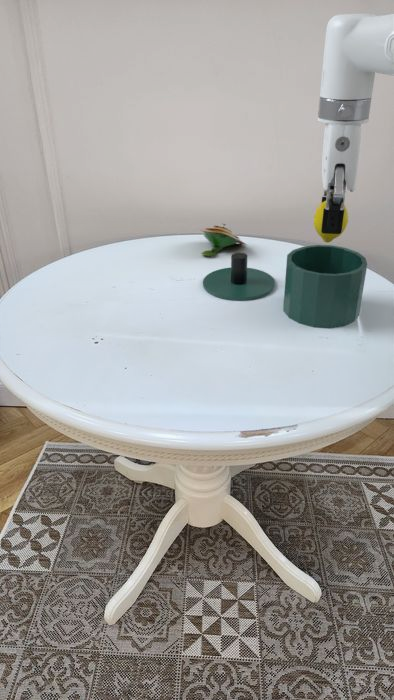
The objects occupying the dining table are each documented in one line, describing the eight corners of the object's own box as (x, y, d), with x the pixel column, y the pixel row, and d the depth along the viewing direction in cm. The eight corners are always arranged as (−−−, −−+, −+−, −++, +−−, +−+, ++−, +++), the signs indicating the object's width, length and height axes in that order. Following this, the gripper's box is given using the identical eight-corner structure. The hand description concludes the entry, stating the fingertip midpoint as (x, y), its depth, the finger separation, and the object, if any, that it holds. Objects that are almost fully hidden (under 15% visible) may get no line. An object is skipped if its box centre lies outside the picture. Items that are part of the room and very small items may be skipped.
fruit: (351, 243, 91) (358, 196, 86) (328, 250, 88) (334, 202, 84) (327, 233, 95) (333, 188, 90) (304, 240, 92) (309, 194, 88)
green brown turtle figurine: (247, 265, 117) (258, 227, 116) (189, 248, 116) (199, 210, 115) (237, 269, 132) (246, 235, 131) (185, 254, 130) (194, 220, 130)
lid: (275, 273, 114) (277, 243, 110) (273, 305, 101) (275, 272, 98) (208, 270, 116) (207, 240, 112) (197, 301, 103) (196, 268, 100)
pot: (354, 297, 103) (362, 246, 98) (361, 333, 92) (370, 277, 86) (283, 294, 105) (287, 243, 100) (282, 328, 94) (286, 273, 88)
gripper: (376, 120, 73) (357, 246, 82) (363, 102, 87) (348, 211, 97) (320, 120, 74) (308, 244, 83) (316, 102, 88) (306, 210, 98)
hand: (330, 225), depth 90 cm, fingers closed on fruit, 5 cm apart
